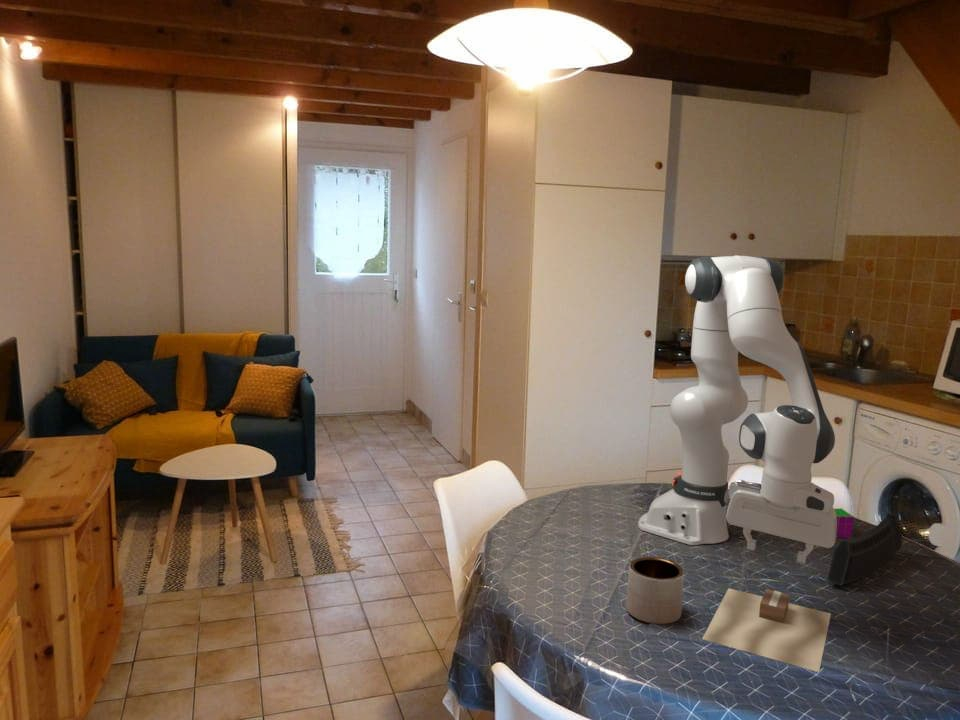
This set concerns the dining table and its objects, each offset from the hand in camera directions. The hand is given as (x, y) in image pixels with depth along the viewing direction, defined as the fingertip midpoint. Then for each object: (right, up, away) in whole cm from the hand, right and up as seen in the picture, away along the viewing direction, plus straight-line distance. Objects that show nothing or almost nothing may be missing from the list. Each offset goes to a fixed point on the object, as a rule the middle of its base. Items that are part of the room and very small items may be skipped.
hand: (775, 555), depth 147 cm
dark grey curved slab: (+30, -10, +24) cm, 40 cm away
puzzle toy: (+33, -7, +46) cm, 57 cm away
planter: (-24, -12, +1) cm, 27 cm away
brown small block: (0, -12, +2) cm, 12 cm away
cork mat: (-3, -13, -4) cm, 14 cm away
